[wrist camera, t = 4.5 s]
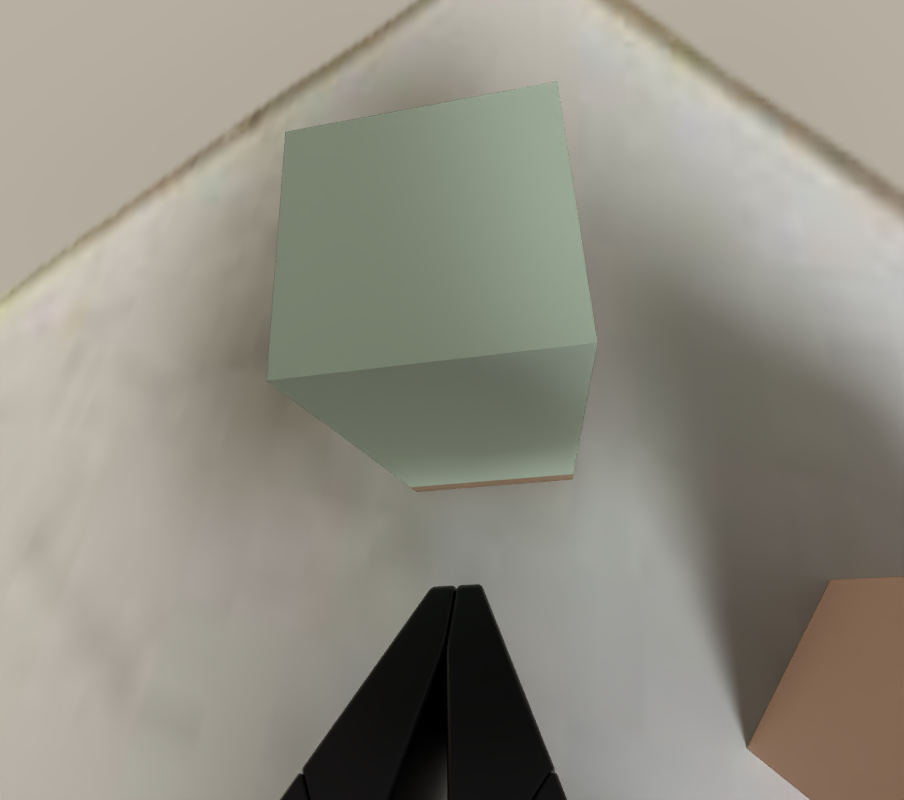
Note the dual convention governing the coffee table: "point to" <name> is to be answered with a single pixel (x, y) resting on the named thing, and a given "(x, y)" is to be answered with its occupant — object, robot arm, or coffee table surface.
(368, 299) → the sage block
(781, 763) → the terracotta block
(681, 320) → the coffee table surface
